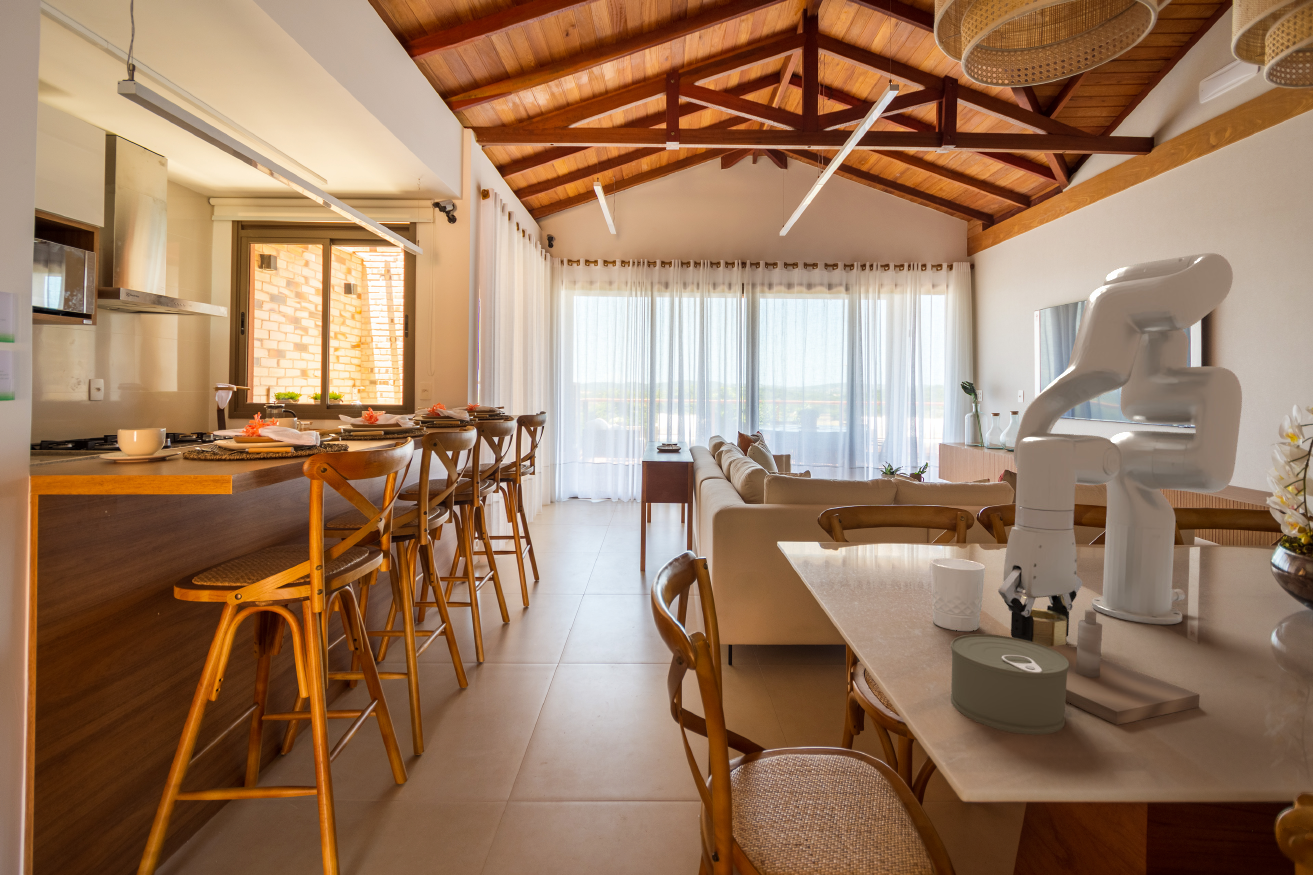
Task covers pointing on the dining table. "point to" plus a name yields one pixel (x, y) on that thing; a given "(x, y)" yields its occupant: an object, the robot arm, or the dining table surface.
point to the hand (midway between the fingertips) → (1039, 635)
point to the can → (1009, 683)
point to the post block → (1115, 682)
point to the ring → (1048, 627)
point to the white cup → (957, 593)
